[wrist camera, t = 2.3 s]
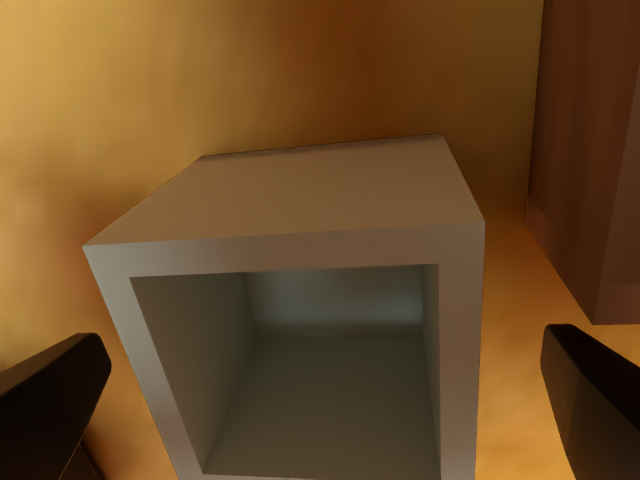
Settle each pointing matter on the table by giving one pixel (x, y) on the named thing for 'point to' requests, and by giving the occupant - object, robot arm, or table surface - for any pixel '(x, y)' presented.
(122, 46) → the table surface
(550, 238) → the big crate
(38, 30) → the table surface
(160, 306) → the small crate
